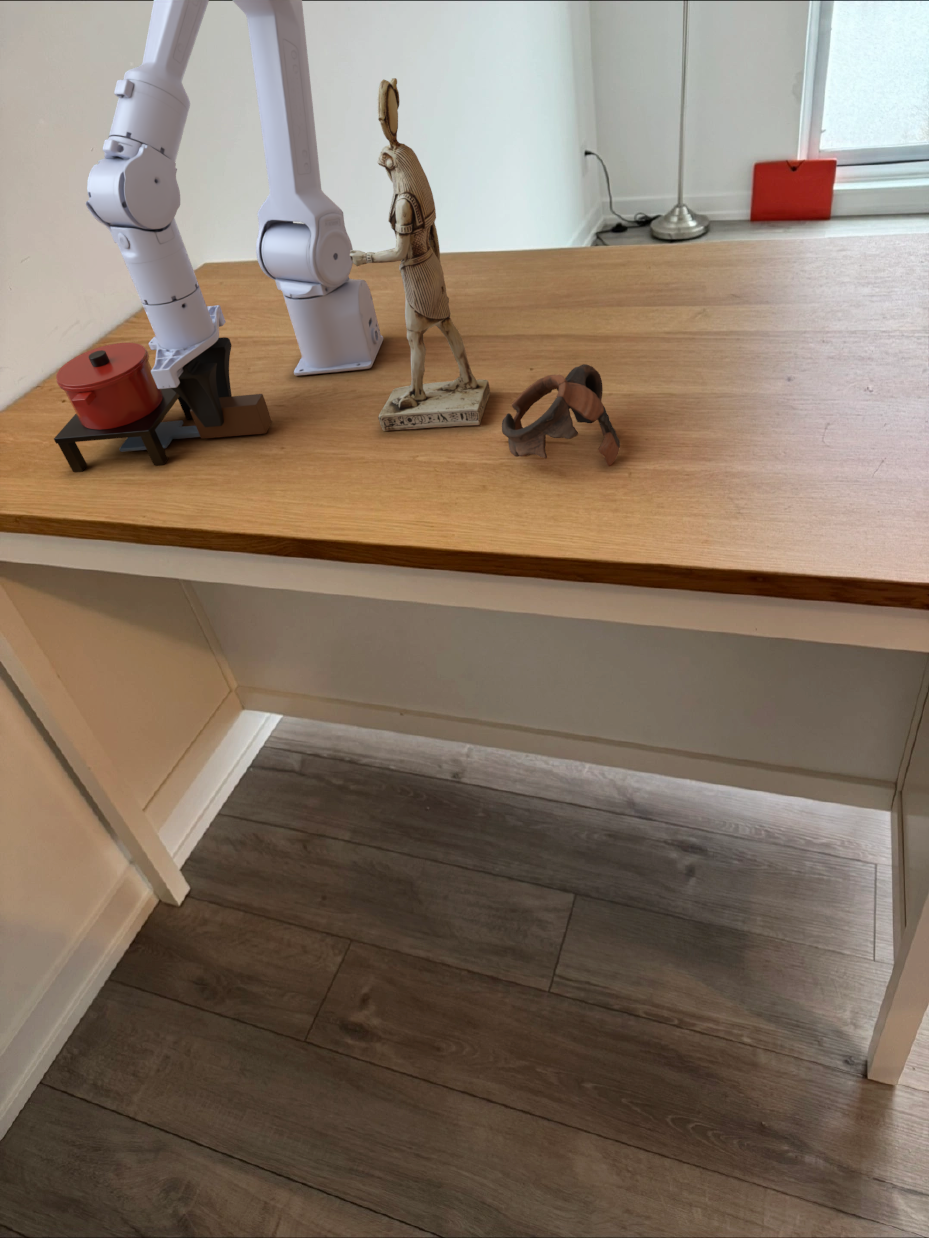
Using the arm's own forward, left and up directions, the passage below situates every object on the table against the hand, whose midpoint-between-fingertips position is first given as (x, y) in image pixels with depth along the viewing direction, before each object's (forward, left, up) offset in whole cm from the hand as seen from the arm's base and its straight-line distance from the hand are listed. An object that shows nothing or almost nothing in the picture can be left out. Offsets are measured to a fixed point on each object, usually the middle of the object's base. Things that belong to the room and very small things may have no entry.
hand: (218, 417), depth 93 cm
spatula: (+3, 0, -2) cm, 3 cm away
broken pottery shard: (-38, +8, -2) cm, 38 cm away
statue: (-24, -1, -2) cm, 24 cm away
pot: (+10, 0, -2) cm, 11 cm away
